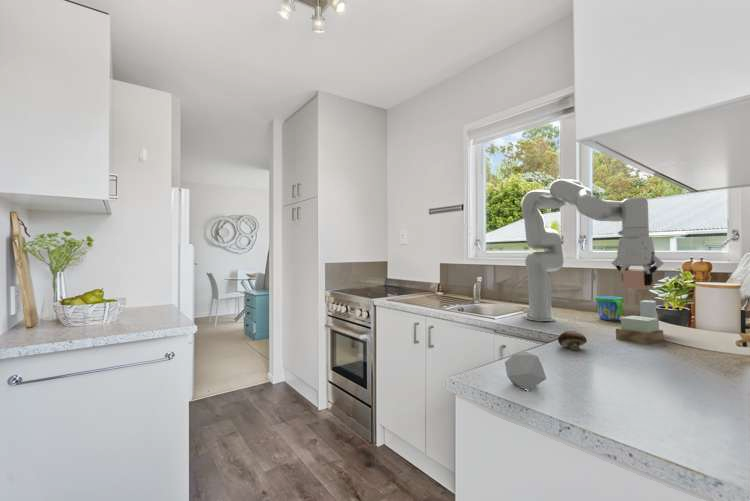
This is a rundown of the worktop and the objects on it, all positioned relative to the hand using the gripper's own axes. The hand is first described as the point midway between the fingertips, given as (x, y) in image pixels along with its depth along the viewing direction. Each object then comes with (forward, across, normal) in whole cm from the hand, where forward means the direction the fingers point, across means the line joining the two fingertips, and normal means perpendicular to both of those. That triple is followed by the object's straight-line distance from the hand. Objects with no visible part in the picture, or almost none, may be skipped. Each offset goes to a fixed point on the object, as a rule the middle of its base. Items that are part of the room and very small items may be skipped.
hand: (637, 284), depth 122 cm
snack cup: (+19, -26, +31) cm, 45 cm away
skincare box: (+19, -3, +14) cm, 24 cm away
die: (+20, +9, -70) cm, 73 cm away
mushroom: (+20, -5, -30) cm, 36 cm away
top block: (+16, 0, 0) cm, 16 cm away
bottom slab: (+20, 0, 0) cm, 20 cm away
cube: (+1, 0, 0) cm, 1 cm away
